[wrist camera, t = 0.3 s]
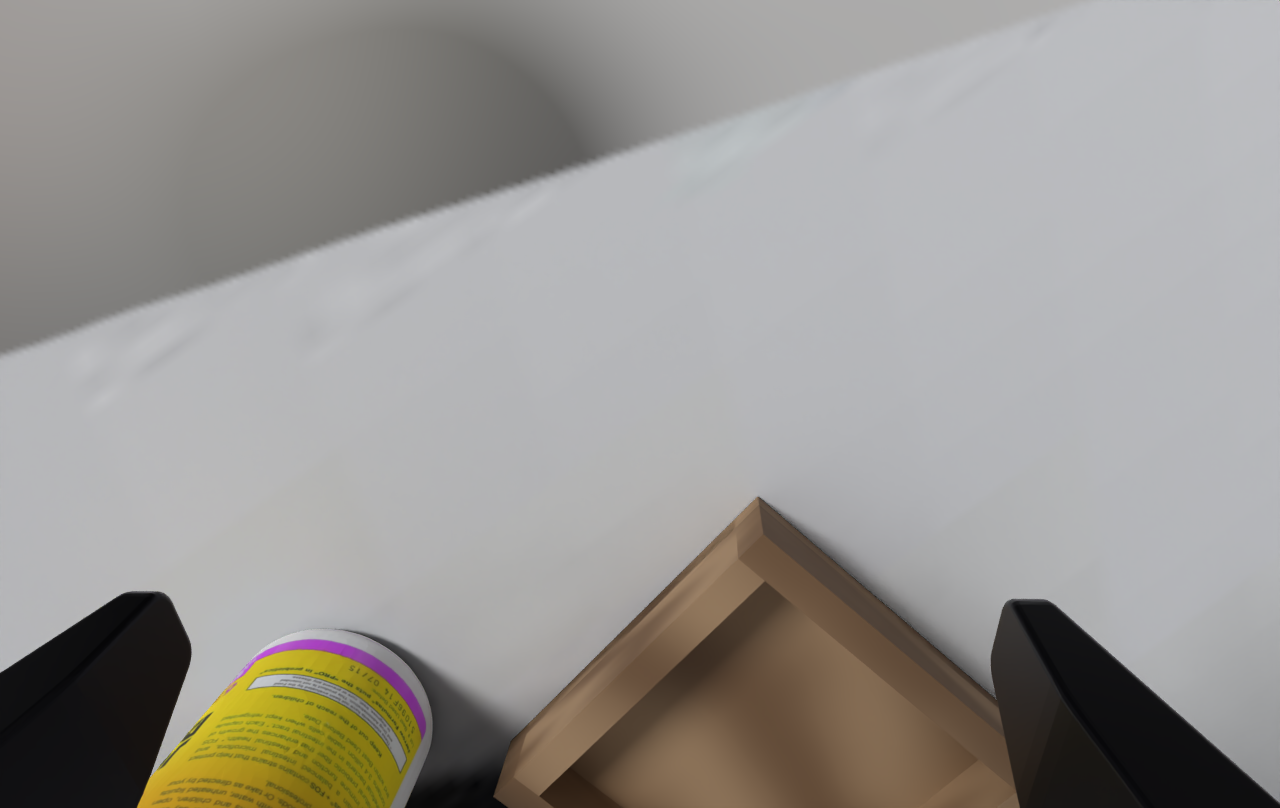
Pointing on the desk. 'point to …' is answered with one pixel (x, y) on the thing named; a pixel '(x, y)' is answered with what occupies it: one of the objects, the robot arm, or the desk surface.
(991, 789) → the walnut tray
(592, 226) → the desk surface
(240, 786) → the supplement bottle
